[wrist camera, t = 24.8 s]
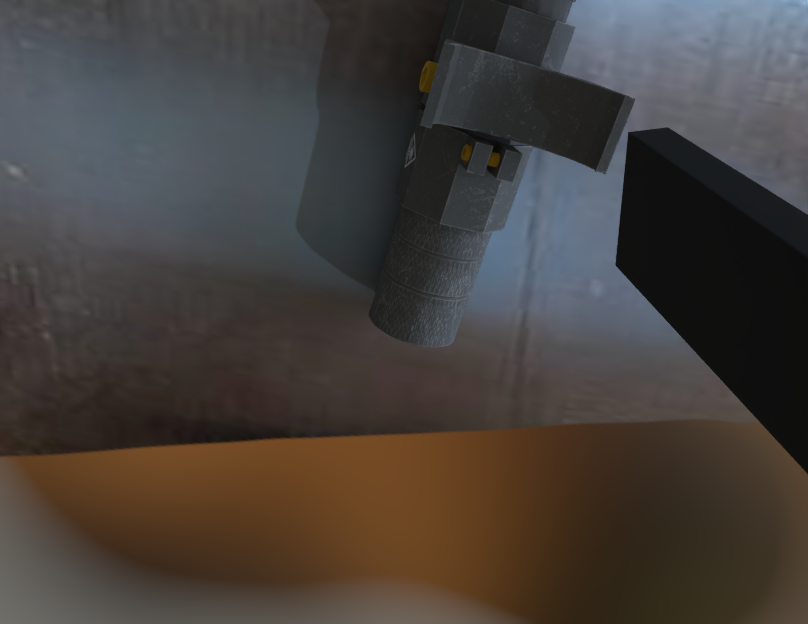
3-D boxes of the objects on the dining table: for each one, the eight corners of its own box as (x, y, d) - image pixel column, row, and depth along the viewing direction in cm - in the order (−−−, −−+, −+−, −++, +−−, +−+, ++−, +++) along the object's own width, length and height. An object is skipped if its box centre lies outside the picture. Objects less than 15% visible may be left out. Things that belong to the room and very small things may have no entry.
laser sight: (331, 289, 48) (349, 368, 39) (434, -92, 40) (485, -101, 31) (471, 316, 51) (517, 395, 42) (596, -35, 42) (686, -28, 33)
